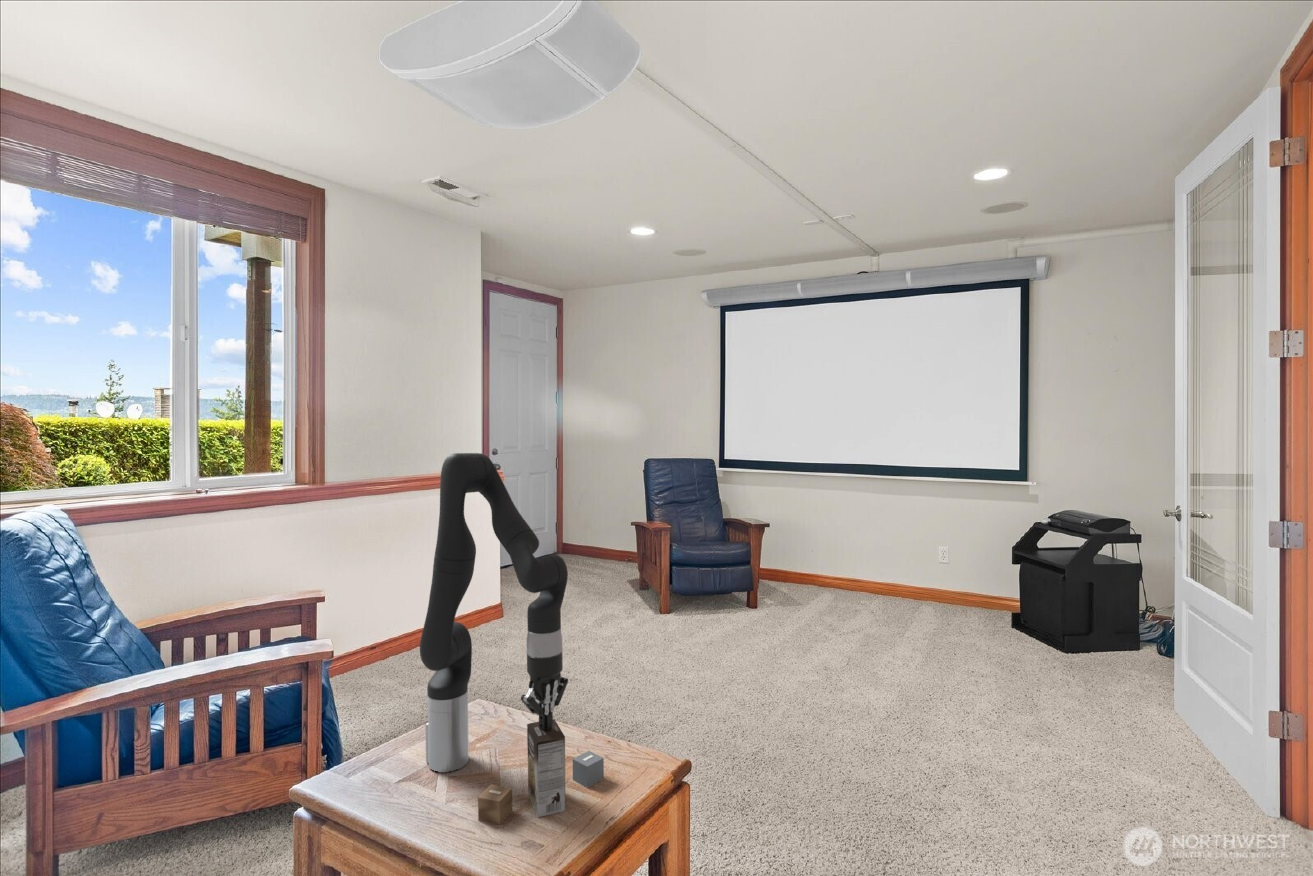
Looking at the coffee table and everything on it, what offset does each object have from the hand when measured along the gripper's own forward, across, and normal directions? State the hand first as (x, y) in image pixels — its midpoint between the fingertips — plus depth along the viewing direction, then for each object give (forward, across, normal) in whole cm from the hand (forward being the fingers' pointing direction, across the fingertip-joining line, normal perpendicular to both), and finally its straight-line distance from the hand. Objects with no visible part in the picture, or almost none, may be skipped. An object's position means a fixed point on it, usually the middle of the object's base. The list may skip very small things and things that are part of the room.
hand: (545, 729), depth 141 cm
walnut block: (+16, +9, -6) cm, 20 cm away
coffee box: (+16, 0, 0) cm, 16 cm away
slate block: (+16, -12, +2) cm, 20 cm away
